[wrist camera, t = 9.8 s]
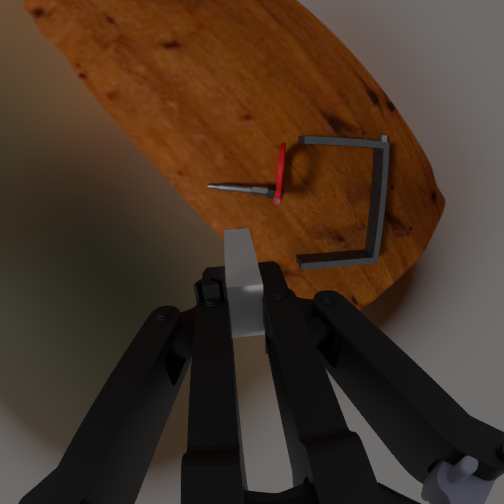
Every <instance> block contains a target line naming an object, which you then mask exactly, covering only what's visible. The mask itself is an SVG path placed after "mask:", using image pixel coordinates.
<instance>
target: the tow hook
mask: <svg viewBox="0 0 504 504" xmlns="http://www.w3.org/2000/svg"><path fill="white" fill-rule="evenodd" d="M285 152H286V143H281V146H280V153H279V161H278V171H277V183H276V186H274V185H269V187H268V186H258V185H253V186H243V185H232V184H219V185H217V184H208V185H207V188H211V189H219V190H221V191H233V192H244V193H252V195H259V196H267V198H270V199H273V203H274V204H275V205H280V204H281V203H282V198H283V195H284V183H283V174H284V164H285Z"/></svg>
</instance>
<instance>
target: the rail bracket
mask: <svg viewBox="0 0 504 504" xmlns="http://www.w3.org/2000/svg"><path fill="white" fill-rule="evenodd" d="M298 141H299V143H304V144H330V145H347V146H361V147H373V172H372V187H371V200H370V211H369V221H368V230H367V238H366V246H365V250H358V251H345V252H332V253H318V254H304V255H297V256H296V261H297V263H298V265H299V267H300V268H301V270H303V269H315V268H326V267H337V266H348V265H359V264H369V263H377V262H378V256H379V250H380V243H381V236H382V229H383V221H384V212H385V203H386V192H387V180H388V164H389V142H387V136H385V135H379V141H373V140H363V139H352V138H338V137H320V136H298Z"/></svg>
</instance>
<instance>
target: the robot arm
mask: <svg viewBox="0 0 504 504" xmlns="http://www.w3.org/2000/svg"><path fill="white" fill-rule="evenodd" d="M224 244H225V245H224V246H225V247H224V248H225V266H223V267H222V266H221V267H209V268H206V270H205V271H204V272H203V275H202V279H200V280H199V281H197V282H196V283H195V285H194V290H195V295H196V301H197V305H196V306H195V307H194V308H192V309H190V310H187V311H183V312H180V311H179V309H178V308H176V307H174V306H162V307H159V308H157V309H155V310H153V311H152V313H151V314H150V315H149V316H148V318H147V319H146V321H145V322H144V324H143V325H142V327H141V329H140V330H139V332H138V333H137V335H136V336H135V338H134V339H133V341H132V342H131V344H130V345H129V347H128V348H127V350H126V351H125V353H124V355H123V356H122V358H121V359H120V361H119V362H118V364H117V366H116V367H115V369H114V370H113V372H112V373H111V375H110V377H109V378H108V380H107V382H106V383H105V385H104V386H103V388H102V390H101V391H100V393H99V395H98V396H97V398H96V400H95V401H94V403H93V405H92V406H91V408H90V410H89V411H88V413H87V415H86V417H85V418H84V420H83V422H82V423H81V425H80V427H79V429H78V430H77V432H76V434H75V436H74V437H73V439H72V441H71V443H70V445H69V446H68V448H67V450H66V452H65V454H64V456H63V458H62V460H61V461H60V463H59V465H58V467H57V468H56V469H55V470H54V471H52V472H51V473H50V474H49V475H48V476H47V477H46V478H44V479H43V480H42V481H41V482H40V483H39V484H38V485H37V486H35V487H34V488H33V489H32V490H31V491H29V492H28V493H27V494H26V495H25V496H24V497H23V498H22V499H21V500H20V502H19V504H134V503H135V501H136V499H137V496H138V493H139V491H140V488H141V485H142V483H143V480H144V477H145V475H146V472H147V470H148V467H149V465H150V462H151V460H152V457H153V454H154V452H155V449H156V447H157V444H158V442H159V439H160V436H161V434H162V432H163V429H164V426H165V424H166V421H167V419H168V416H169V414H170V411H171V409H172V406H173V404H174V401H175V399H176V396H177V394H178V391H179V389H180V386H181V384H182V381H183V379H184V377H185V374H186V372H187V369H188V367H189V364H190V362H191V357H192V364H191V379H190V395H189V414H188V442H187V452H186V453H185V454H183V457H182V465H181V504H421V503H419V502H416V501H414V500H412V499H410V498H408V497H406V496H404V495H402V494H400V493H398V492H396V491H394V490H392V489H390V488H388V487H387V486H385V485H383V484H381V483H378V482H377V481H376V478H375V475H374V472H373V470H372V467H371V465H370V462H369V459H368V456H367V454H366V451H365V449H364V447H363V443H362V441H361V439H360V437H359V435H358V434H357V433H356V432H352V431H350V430H349V429H348V427H347V424H346V422H345V419H344V416H343V414H342V411H341V409H340V406H339V403H338V400H337V398H336V395H335V393H334V390H333V387H332V385H331V382H330V380H329V377H328V374H327V372H326V370H325V368H326V369H327V371H328V372H329V373H330V375H331V376H332V377H333V379H334V380H335V381H336V382H337V384H338V385H339V386H340V388H341V389H342V390H343V391H344V393H345V394H346V395H347V397H348V398H349V399H350V400H351V402H352V403H353V404H354V406H355V407H356V408H357V409H358V411H359V412H360V413H361V414H362V416H363V417H364V418H365V420H366V421H367V422H368V424H369V425H370V426H371V427H372V429H373V430H374V431H375V432H376V433H377V435H378V436H379V437H380V439H381V440H382V441H383V442H384V444H385V445H386V446H387V448H388V449H389V450H390V451H391V453H392V454H393V455H394V456H395V458H396V459H397V460H398V461H399V463H400V464H401V465H402V466H403V467H404V468H405V470H407V472H408V473H409V474H411V475H412V476H413V477H414V478H415V479H416V480H418V481H419V482H421V483H422V484H423V488H422V489H423V491H422V493H421V497H422V498H423V500H425V501H429V503H430V504H484V503H485V501H486V499H487V497H488V495H489V493H490V491H491V488H492V486H493V484H494V482H495V480H496V479H497V478H498V477H499V476H501V475H502V474H503V473H504V432H502V431H500V430H498V429H496V428H494V427H492V426H490V425H488V424H486V423H484V422H482V421H479V420H477V419H475V418H473V417H471V416H470V415H469V414H468V413H467V412H466V411H465V410H464V409H463V408H462V407H461V406H460V405H459V404H458V403H457V402H456V401H454V399H453V398H451V397H450V395H448V394H447V393H446V392H445V391H444V390H443V389H442V388H441V387H440V386H439V385H438V384H437V383H436V382H435V381H434V380H433V379H432V378H431V377H430V376H429V375H428V374H427V373H426V372H425V371H424V370H422V368H421V367H419V366H418V365H417V364H416V363H415V362H414V361H413V360H412V359H411V358H410V357H409V356H408V355H407V354H406V353H405V352H403V350H401V349H400V348H399V347H398V346H397V345H396V344H395V343H394V342H393V341H392V340H391V339H390V338H388V337H387V336H386V335H385V334H384V333H383V332H382V331H381V330H380V329H379V328H378V327H377V326H375V325H374V324H373V323H372V322H371V321H370V320H369V319H368V318H367V317H366V316H365V315H363V314H362V313H361V312H360V311H359V310H358V309H357V308H356V307H355V306H353V305H352V304H351V303H350V302H349V301H348V300H347V299H346V298H345V297H343V296H342V295H341V294H339V293H338V292H335V291H330V290H325V291H320V292H318V293H316V294H315V295H314V300H313V299H303V298H299V297H296V295H295V293H294V292H293V291H292V290H291V289H289V288H288V286H287V284H286V281H285V279H284V276H283V274H282V272H281V269H280V266H279V265H278V264H277V263H275V262H274V261H271V262H260V263H257V259H256V256H255V252H254V248H253V244H252V240H251V237H250V233H249V229H248V228H247V229H234V230H224ZM264 330H265V347H266V354H268V357H269V362H270V367H271V372H272V377H273V382H274V386H275V391H276V396H277V401H278V406H279V410H280V415H281V420H282V425H283V429H284V434H285V439H286V444H287V449H288V454H289V458H290V463H291V467H292V474H293V488H291V489H288V490H286V491H283V492H280V493H265V492H255V491H248V487H247V480H246V473H245V464H244V455H243V446H242V436H241V426H240V417H239V406H238V396H237V385H236V373H235V362H234V351H233V340H232V338H233V337H243V336H254V335H264Z"/></svg>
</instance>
